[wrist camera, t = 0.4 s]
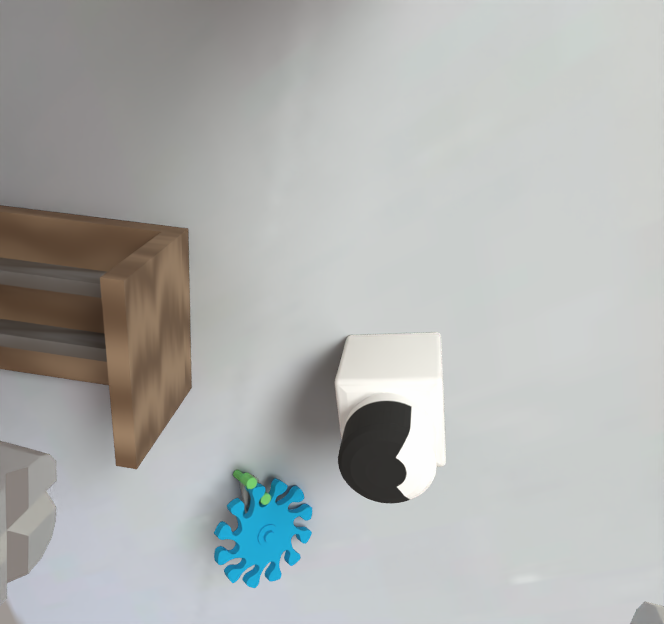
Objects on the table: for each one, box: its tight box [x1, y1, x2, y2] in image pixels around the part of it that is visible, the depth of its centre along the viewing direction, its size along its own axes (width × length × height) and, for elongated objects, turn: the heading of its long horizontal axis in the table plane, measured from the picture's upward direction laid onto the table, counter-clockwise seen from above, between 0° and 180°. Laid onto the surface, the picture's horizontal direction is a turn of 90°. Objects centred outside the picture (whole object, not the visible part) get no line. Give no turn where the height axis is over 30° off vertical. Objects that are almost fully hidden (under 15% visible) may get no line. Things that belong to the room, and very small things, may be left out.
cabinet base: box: [0, 205, 192, 469], centre depth 49 cm, size 15×26×12 cm, turn 86°
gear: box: [214, 470, 312, 588], centre depth 58 cm, size 11×6×10 cm
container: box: [334, 332, 446, 503], centre depth 46 cm, size 8×8×13 cm
